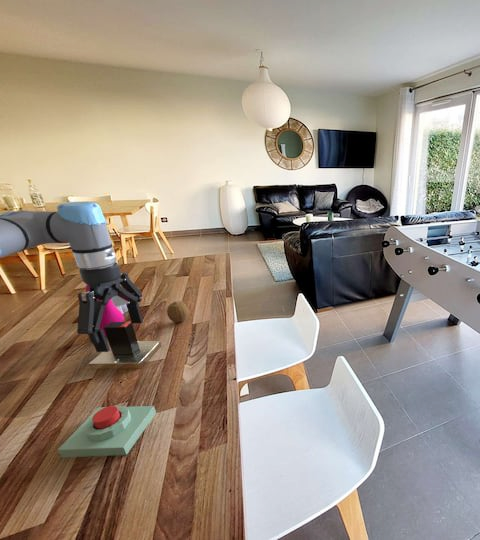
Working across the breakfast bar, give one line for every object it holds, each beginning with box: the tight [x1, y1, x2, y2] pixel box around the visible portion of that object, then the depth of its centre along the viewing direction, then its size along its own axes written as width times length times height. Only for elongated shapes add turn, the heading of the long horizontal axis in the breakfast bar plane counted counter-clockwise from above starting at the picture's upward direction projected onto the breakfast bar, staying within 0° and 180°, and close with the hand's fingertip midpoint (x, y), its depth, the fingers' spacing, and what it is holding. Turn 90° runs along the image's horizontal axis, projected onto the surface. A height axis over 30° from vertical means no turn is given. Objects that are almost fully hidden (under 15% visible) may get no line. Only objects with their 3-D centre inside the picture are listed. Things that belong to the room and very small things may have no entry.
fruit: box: [166, 300, 189, 323], centre depth 99 cm, size 6×6×8 cm
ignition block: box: [57, 405, 157, 458], centre depth 60 cm, size 12×10×4 cm
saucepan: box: [112, 296, 130, 315], centre depth 104 cm, size 11×18×4 cm, turn 45°
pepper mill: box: [85, 284, 125, 338], centre depth 90 cm, size 7×7×20 cm
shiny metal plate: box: [88, 340, 162, 370], centre depth 82 cm, size 13×10×2 cm
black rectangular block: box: [104, 320, 139, 354], centre depth 80 cm, size 6×3×9 cm, turn 94°
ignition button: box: [92, 405, 120, 429], centre depth 59 cm, size 4×4×2 cm
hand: (121, 335), depth 80 cm, fingers open, 13 cm apart
